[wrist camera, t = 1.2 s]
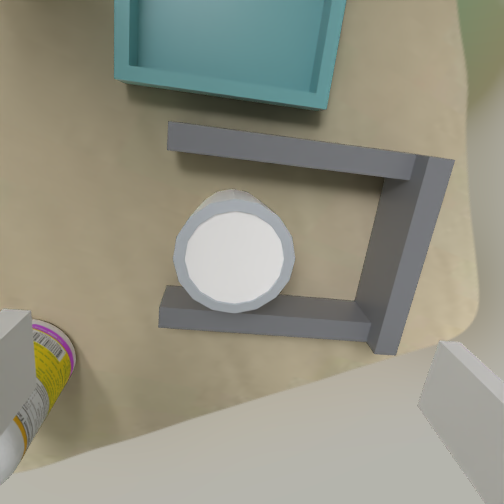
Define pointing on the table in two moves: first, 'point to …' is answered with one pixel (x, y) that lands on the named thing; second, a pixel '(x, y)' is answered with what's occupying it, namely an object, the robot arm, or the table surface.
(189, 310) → the bay
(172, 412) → the table surface
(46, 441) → the table surface
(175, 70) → the tray
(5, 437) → the supplement bottle
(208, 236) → the shot glass
